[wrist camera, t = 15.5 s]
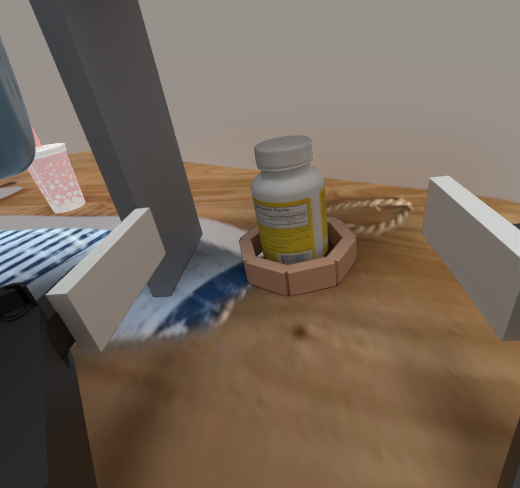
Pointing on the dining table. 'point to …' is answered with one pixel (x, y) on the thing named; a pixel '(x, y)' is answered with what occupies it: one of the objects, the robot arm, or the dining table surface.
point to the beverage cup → (56, 177)
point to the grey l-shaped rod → (125, 118)
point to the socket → (303, 273)
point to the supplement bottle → (289, 201)
